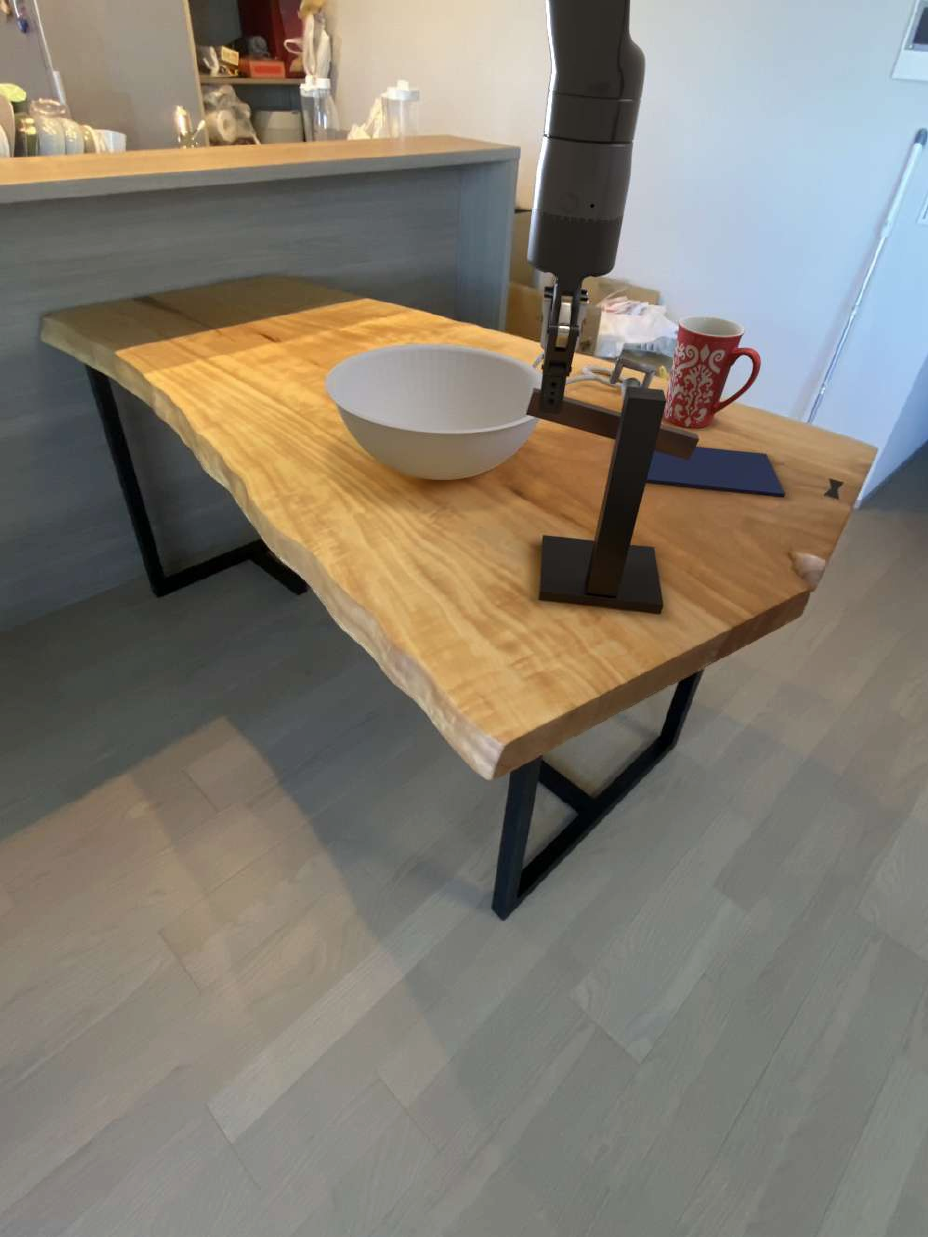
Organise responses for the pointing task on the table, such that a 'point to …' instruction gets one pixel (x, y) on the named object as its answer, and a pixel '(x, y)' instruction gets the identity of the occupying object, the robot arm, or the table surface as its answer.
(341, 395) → the bowl
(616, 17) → the robot arm
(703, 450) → the mat
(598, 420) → the hanger
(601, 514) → the coat stand
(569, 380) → the hook
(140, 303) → the table surface
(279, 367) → the table surface
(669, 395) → the mug
